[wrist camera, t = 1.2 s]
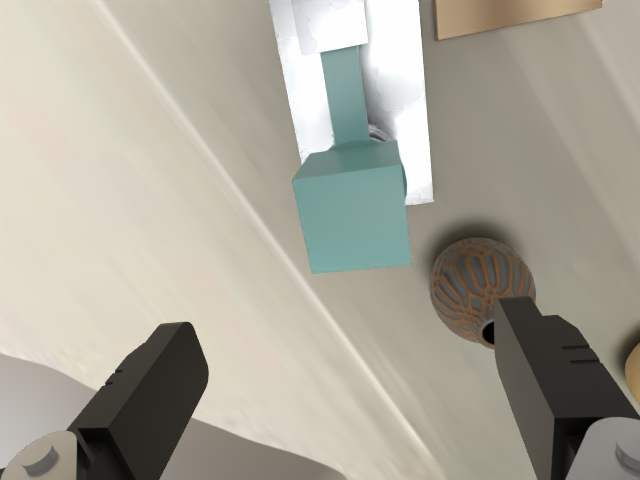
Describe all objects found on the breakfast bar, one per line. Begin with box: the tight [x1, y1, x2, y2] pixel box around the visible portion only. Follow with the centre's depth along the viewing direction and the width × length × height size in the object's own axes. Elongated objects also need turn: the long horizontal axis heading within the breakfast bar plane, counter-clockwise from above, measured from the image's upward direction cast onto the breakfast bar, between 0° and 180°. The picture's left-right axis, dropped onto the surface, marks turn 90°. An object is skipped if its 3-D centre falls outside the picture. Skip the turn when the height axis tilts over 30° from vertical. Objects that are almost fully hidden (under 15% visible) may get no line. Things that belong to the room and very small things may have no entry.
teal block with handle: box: [292, 45, 412, 274], centre depth 19 cm, size 5×12×6 cm, turn 11°
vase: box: [429, 237, 536, 349], centre depth 28 cm, size 7×7×9 cm
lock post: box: [268, 0, 433, 205], centre depth 23 cm, size 9×20×10 cm, turn 11°
